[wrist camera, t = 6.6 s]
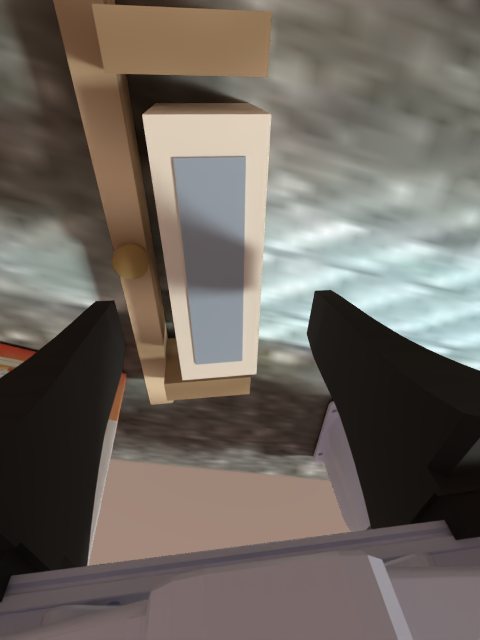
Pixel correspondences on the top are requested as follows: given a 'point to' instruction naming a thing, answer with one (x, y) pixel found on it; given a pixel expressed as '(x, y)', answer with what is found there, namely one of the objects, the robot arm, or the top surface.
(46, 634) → the robot arm
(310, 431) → the top surface
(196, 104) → the cream block
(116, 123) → the ledge
